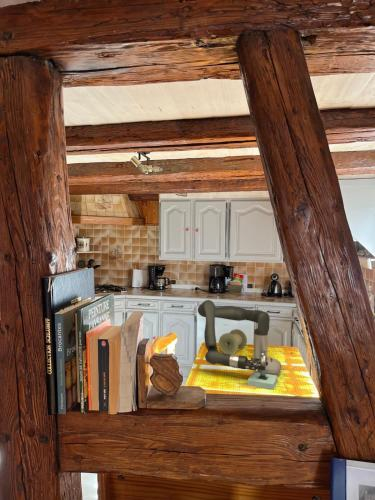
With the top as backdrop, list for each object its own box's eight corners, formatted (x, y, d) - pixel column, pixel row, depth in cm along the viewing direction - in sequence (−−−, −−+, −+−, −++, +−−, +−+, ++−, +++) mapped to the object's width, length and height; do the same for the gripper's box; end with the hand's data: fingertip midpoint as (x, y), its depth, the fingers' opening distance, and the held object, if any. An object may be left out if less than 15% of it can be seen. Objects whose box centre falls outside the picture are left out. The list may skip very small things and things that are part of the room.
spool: (237, 356, 238) (237, 335, 238) (218, 352, 246) (218, 332, 246) (246, 350, 252) (247, 330, 252) (228, 347, 260) (228, 327, 260)
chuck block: (253, 376, 201) (253, 371, 201) (277, 380, 195) (277, 375, 195) (247, 385, 188) (247, 379, 188) (273, 389, 182) (273, 384, 182)
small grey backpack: (257, 366, 219) (255, 377, 200) (257, 353, 219) (255, 363, 200) (281, 368, 215) (281, 380, 196) (281, 355, 215) (281, 366, 196)
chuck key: (261, 380, 195) (261, 350, 195) (266, 381, 194) (267, 351, 194) (258, 384, 189) (259, 353, 189) (264, 385, 187) (264, 354, 187)
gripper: (235, 358, 191) (264, 363, 184) (241, 351, 204) (268, 355, 197) (235, 372, 191) (263, 376, 184) (241, 364, 204) (268, 368, 197)
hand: (266, 366), depth 191 cm, fingers open, 8 cm apart
